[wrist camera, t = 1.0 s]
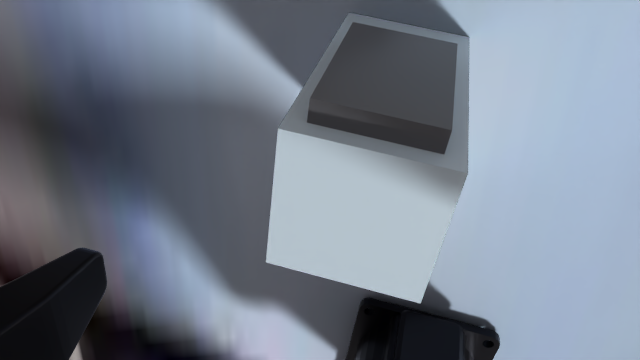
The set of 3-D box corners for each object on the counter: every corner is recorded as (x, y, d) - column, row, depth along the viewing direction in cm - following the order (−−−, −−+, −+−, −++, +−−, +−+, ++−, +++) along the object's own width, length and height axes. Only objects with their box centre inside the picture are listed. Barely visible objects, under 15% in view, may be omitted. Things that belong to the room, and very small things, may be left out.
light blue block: (437, 141, 19) (420, 303, 13) (332, 117, 20) (265, 262, 13) (475, 19, 17) (476, 148, 10) (352, -6, 17) (280, 103, 11)
